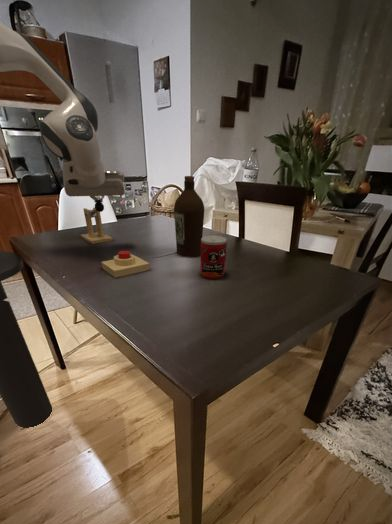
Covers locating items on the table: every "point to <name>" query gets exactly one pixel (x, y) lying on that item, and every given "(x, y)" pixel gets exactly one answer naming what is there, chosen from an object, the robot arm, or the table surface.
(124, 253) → the button
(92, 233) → the bracket
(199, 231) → the olive oil
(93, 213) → the lever
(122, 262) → the button block
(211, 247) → the canned food
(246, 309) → the table surface
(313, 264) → the table surface
